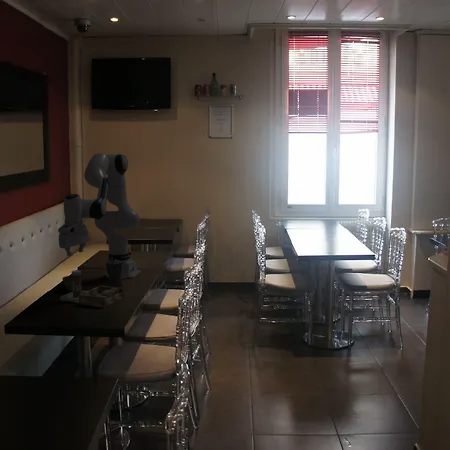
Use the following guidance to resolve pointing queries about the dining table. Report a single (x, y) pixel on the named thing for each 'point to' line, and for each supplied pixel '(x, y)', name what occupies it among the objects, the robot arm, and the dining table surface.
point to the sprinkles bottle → (76, 283)
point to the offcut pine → (107, 293)
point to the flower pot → (68, 282)
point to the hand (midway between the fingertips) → (75, 253)
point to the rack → (94, 297)
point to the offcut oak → (114, 291)
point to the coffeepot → (114, 273)
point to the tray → (70, 297)
